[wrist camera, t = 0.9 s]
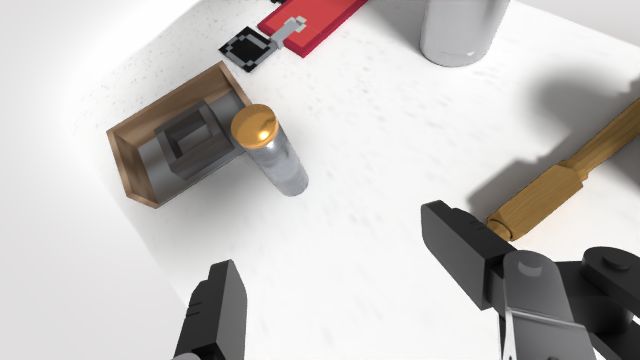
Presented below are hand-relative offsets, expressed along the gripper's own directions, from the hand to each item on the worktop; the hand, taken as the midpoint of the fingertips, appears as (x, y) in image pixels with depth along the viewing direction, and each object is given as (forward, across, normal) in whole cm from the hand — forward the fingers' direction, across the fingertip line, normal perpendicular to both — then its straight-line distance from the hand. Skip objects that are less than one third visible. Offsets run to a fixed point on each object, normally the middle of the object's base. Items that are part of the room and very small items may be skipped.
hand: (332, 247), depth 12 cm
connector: (+24, +1, +7) cm, 25 cm away
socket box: (+32, +12, +2) cm, 35 cm away
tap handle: (+14, -29, +10) cm, 34 cm away
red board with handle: (+46, -8, -12) cm, 49 cm away
